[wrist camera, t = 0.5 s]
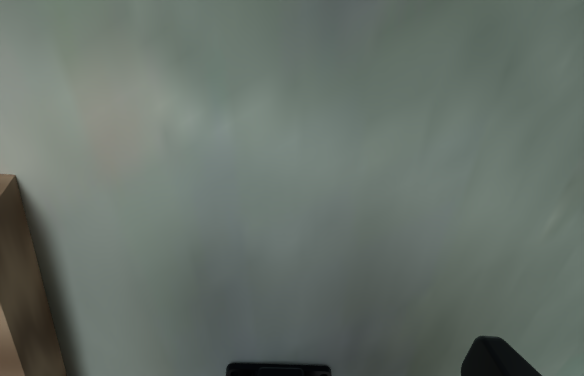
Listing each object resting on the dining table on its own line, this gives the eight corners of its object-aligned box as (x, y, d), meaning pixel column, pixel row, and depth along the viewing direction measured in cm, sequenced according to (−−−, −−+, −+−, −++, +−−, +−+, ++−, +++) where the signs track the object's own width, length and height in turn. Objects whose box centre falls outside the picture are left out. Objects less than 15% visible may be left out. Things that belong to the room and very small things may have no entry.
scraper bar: (70, 383, 31) (49, 447, 28) (37, 382, 31) (12, 447, 28) (17, 172, 22) (-25, 231, 19) (-31, 169, 22) (-82, 229, 18)
